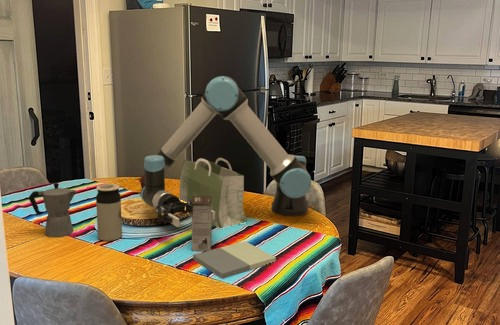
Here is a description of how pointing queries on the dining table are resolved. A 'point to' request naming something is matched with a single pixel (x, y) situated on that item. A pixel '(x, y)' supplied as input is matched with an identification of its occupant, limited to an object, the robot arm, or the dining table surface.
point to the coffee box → (201, 223)
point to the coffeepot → (55, 210)
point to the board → (233, 259)
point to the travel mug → (109, 212)
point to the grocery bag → (215, 189)
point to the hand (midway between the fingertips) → (196, 219)
